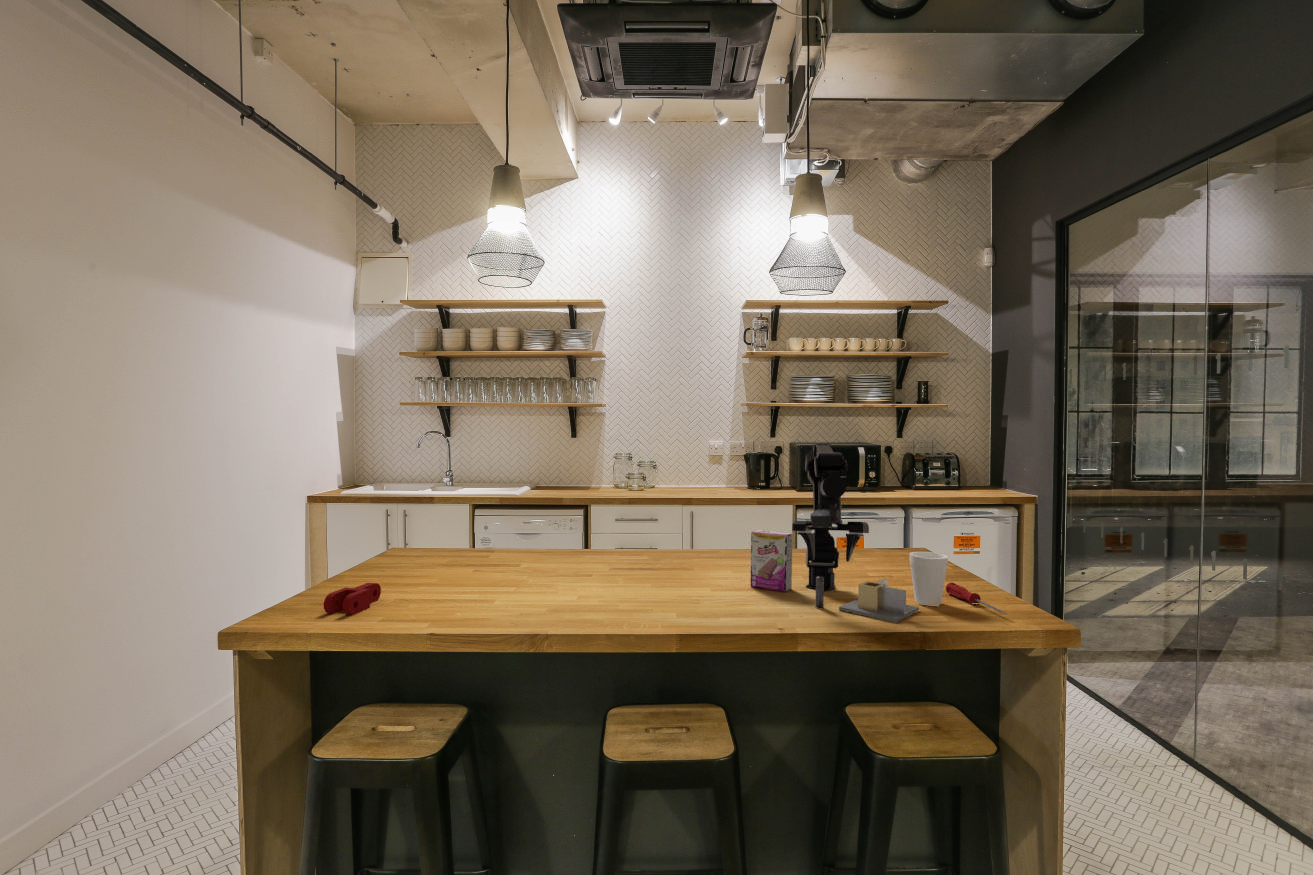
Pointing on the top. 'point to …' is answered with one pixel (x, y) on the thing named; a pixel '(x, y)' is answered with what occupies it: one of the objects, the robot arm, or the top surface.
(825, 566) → the robot arm
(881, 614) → the base plate
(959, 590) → the screwdriver
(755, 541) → the candy bar box
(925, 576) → the foam cup
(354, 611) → the mechanical linkage
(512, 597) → the top surface
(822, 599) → the hinge pin
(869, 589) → the hinge
